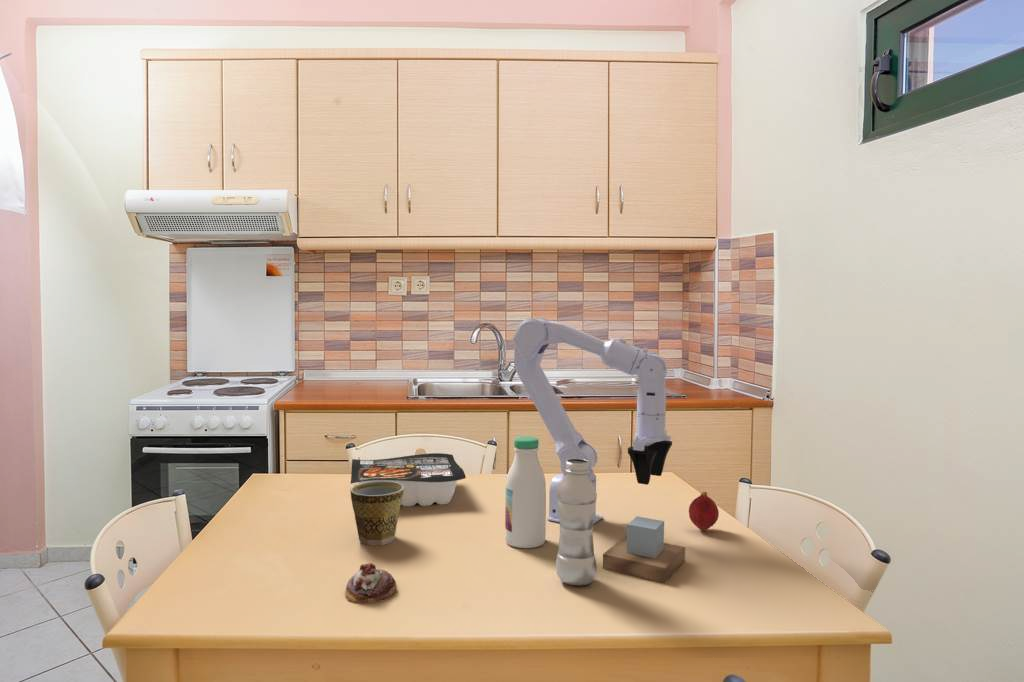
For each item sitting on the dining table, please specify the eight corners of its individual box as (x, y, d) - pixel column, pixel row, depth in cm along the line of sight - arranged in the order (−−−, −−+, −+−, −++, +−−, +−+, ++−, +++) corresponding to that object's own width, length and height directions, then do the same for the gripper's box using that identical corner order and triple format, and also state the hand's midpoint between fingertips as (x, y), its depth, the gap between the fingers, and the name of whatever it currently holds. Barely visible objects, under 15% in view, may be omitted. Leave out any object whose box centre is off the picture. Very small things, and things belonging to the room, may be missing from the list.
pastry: (347, 607, 97) (347, 574, 96) (341, 586, 104) (341, 556, 103) (400, 599, 100) (400, 567, 99) (391, 579, 107) (391, 550, 106)
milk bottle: (551, 538, 126) (552, 436, 124) (536, 552, 119) (537, 444, 117) (515, 532, 129) (516, 432, 128) (498, 545, 122) (499, 440, 121)
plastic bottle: (585, 594, 101) (588, 468, 100) (548, 584, 105) (549, 462, 104) (602, 579, 107) (605, 460, 106) (566, 570, 110) (567, 454, 109)
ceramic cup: (414, 539, 125) (414, 487, 124) (370, 553, 117) (370, 499, 117) (374, 523, 133) (374, 475, 133) (331, 535, 126) (331, 484, 126)
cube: (626, 552, 112) (627, 524, 112) (636, 543, 116) (636, 516, 116) (654, 558, 110) (655, 529, 109) (663, 549, 114) (664, 521, 114)
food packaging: (350, 480, 139) (352, 456, 161) (350, 514, 139) (352, 486, 161) (465, 474, 144) (452, 452, 166) (465, 507, 145) (452, 481, 167)
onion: (719, 536, 127) (720, 496, 127) (689, 534, 129) (690, 494, 128) (716, 527, 133) (717, 488, 133) (687, 524, 134) (688, 486, 134)
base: (602, 568, 112) (602, 554, 111) (626, 548, 121) (626, 535, 121) (664, 583, 106) (665, 568, 106) (684, 560, 115) (685, 547, 115)
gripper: (658, 420, 123) (656, 490, 124) (681, 410, 135) (679, 474, 136) (623, 416, 127) (622, 485, 128) (648, 407, 139) (647, 469, 140)
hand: (649, 479), depth 132 cm, fingers open, 7 cm apart
